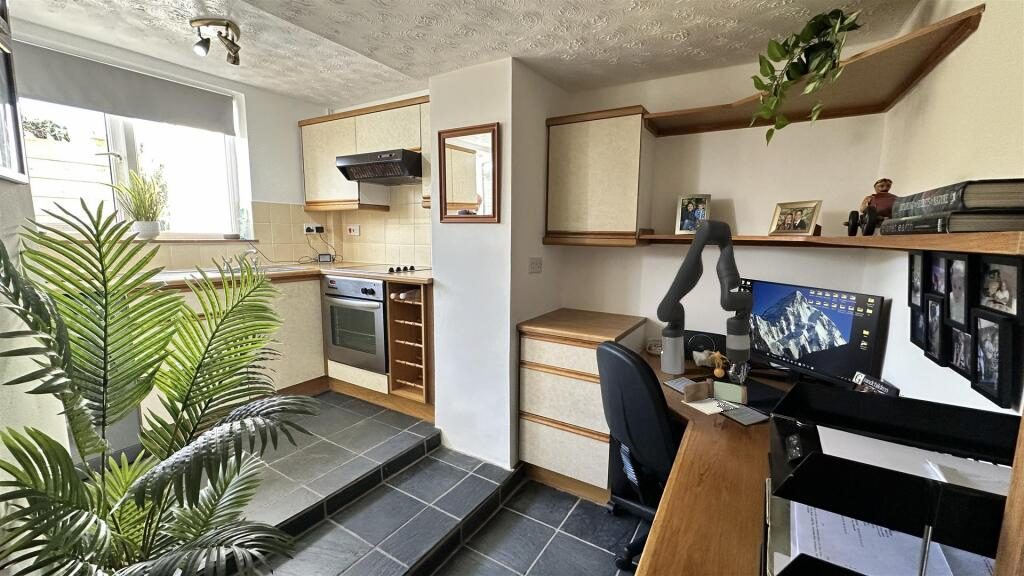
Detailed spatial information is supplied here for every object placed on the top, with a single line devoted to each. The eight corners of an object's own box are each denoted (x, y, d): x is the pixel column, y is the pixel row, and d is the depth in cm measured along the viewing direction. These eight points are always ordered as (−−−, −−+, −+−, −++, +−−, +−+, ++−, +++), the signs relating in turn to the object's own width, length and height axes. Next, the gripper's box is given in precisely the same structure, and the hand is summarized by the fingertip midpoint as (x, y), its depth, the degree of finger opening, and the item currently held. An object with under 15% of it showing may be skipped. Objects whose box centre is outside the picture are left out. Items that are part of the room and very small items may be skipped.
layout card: (708, 414, 134) (708, 413, 134) (681, 401, 147) (681, 400, 147) (740, 408, 138) (739, 406, 138) (710, 395, 151) (710, 394, 151)
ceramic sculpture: (694, 345, 195) (728, 348, 188) (693, 362, 196) (727, 366, 189) (691, 350, 186) (727, 354, 179) (691, 368, 187) (727, 372, 180)
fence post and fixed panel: (687, 404, 144) (686, 385, 144) (683, 402, 147) (682, 383, 146) (715, 398, 148) (714, 379, 147) (710, 396, 150) (710, 378, 150)
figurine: (730, 376, 171) (729, 349, 170) (729, 380, 166) (728, 353, 165) (709, 374, 176) (708, 348, 175) (707, 378, 170) (707, 351, 170)
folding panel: (714, 398, 147) (713, 382, 146) (715, 396, 148) (715, 381, 148) (746, 404, 139) (745, 388, 138) (747, 402, 140) (747, 386, 140)
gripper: (740, 351, 135) (741, 399, 137) (757, 343, 143) (758, 389, 145) (718, 348, 141) (719, 394, 143) (735, 340, 149) (736, 384, 151)
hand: (739, 391), depth 144 cm, fingers closed
